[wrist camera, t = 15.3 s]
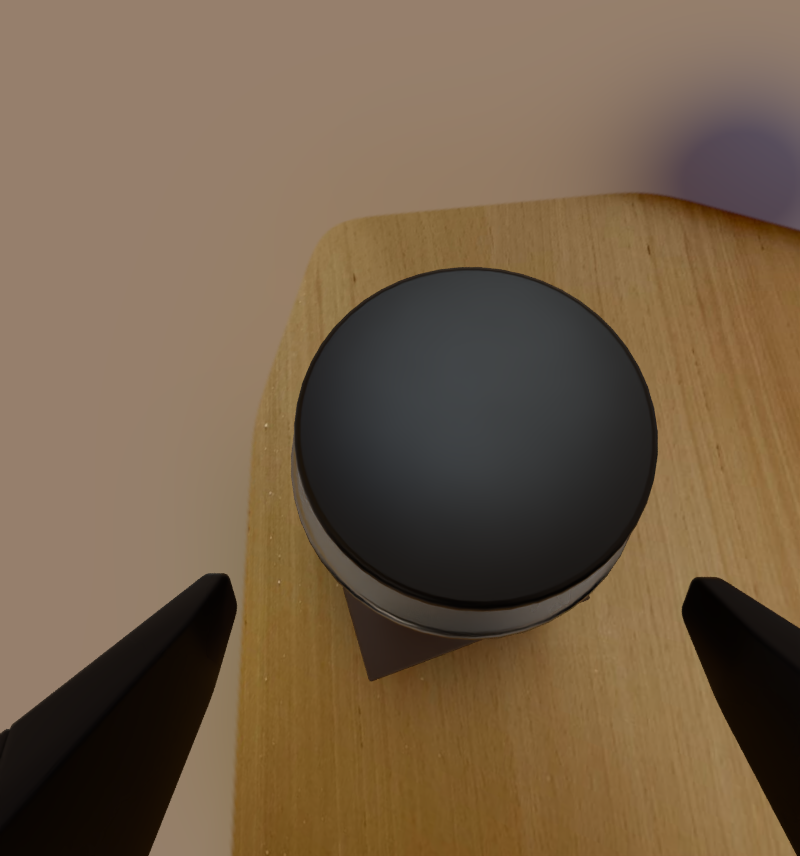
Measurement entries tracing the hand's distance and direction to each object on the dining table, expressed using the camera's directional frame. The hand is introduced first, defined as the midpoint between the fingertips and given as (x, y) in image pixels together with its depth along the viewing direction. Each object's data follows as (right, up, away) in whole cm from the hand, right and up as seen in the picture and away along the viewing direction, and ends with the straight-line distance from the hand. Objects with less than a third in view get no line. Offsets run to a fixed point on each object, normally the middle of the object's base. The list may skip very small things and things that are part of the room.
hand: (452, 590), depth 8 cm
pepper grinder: (0, 0, +7) cm, 7 cm away
